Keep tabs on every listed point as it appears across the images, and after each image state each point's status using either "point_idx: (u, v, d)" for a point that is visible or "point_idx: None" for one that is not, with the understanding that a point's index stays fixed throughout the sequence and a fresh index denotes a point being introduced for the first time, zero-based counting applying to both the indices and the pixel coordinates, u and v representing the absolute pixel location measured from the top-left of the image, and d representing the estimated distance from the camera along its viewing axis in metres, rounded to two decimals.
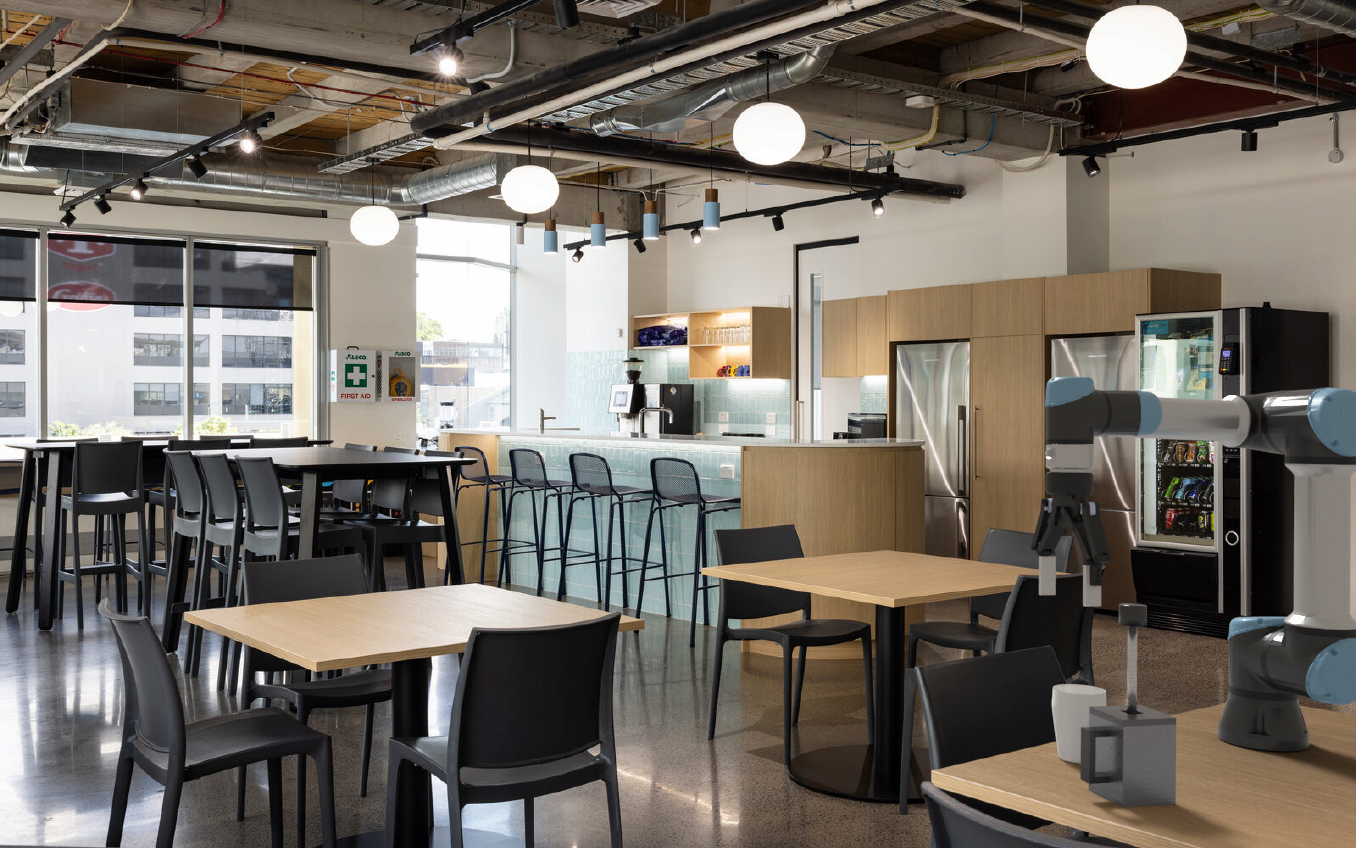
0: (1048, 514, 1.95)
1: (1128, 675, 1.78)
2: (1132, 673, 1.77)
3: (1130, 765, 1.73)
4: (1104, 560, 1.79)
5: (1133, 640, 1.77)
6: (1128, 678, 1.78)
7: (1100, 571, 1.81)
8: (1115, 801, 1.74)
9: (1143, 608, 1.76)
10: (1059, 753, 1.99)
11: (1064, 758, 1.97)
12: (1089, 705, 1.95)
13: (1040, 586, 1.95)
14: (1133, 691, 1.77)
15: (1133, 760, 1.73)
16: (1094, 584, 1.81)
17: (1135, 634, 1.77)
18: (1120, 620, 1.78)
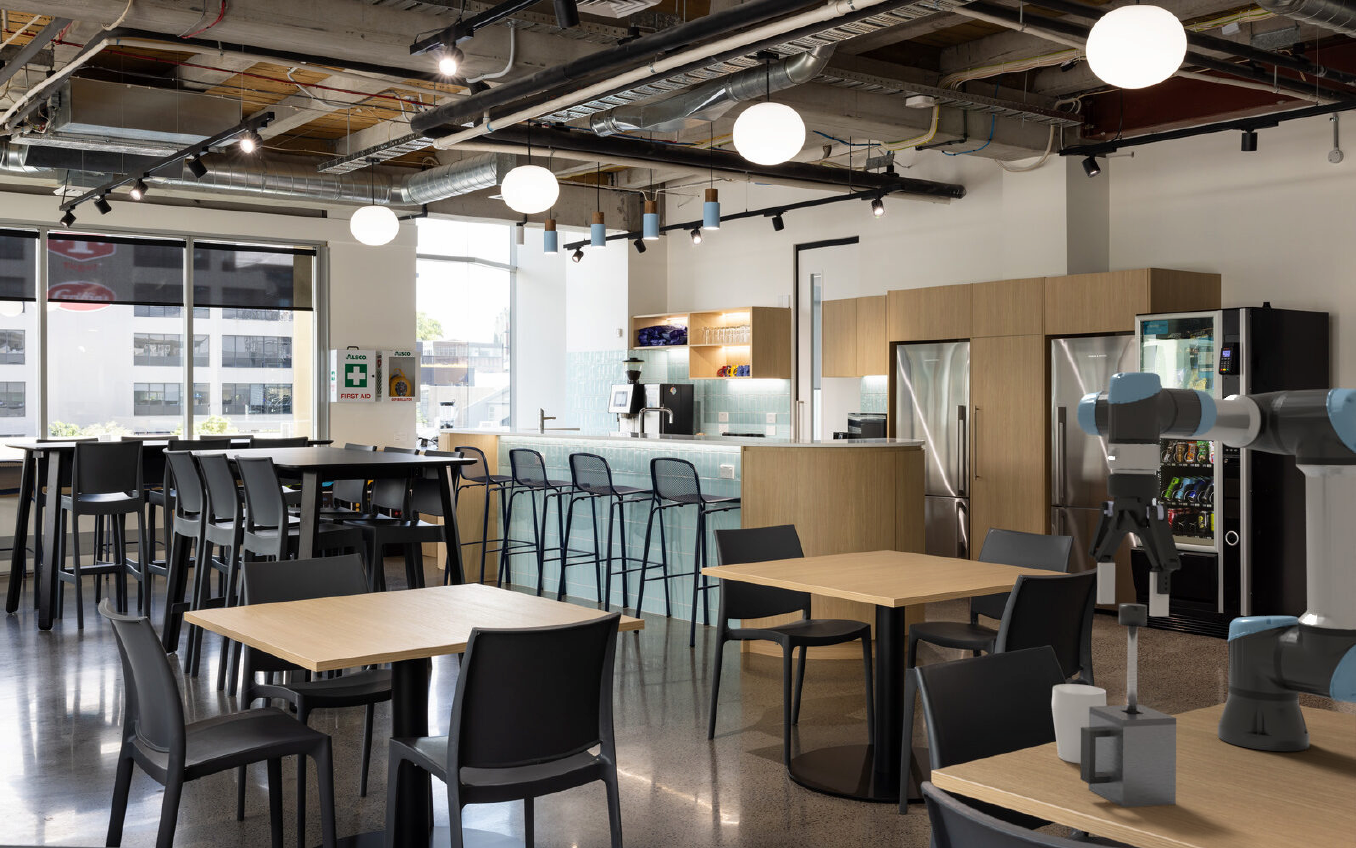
0: (1108, 518, 1.84)
1: (1128, 675, 1.78)
2: (1132, 673, 1.77)
3: (1130, 765, 1.73)
4: (1174, 567, 1.68)
5: (1133, 640, 1.77)
6: (1128, 678, 1.78)
7: (1168, 579, 1.70)
8: (1115, 801, 1.74)
9: (1143, 608, 1.76)
10: (1059, 753, 1.99)
11: (1064, 758, 1.97)
12: (1089, 705, 1.95)
13: (1098, 594, 1.84)
14: (1133, 691, 1.77)
15: (1133, 760, 1.73)
16: (1162, 592, 1.70)
17: (1135, 634, 1.77)
18: (1120, 620, 1.78)
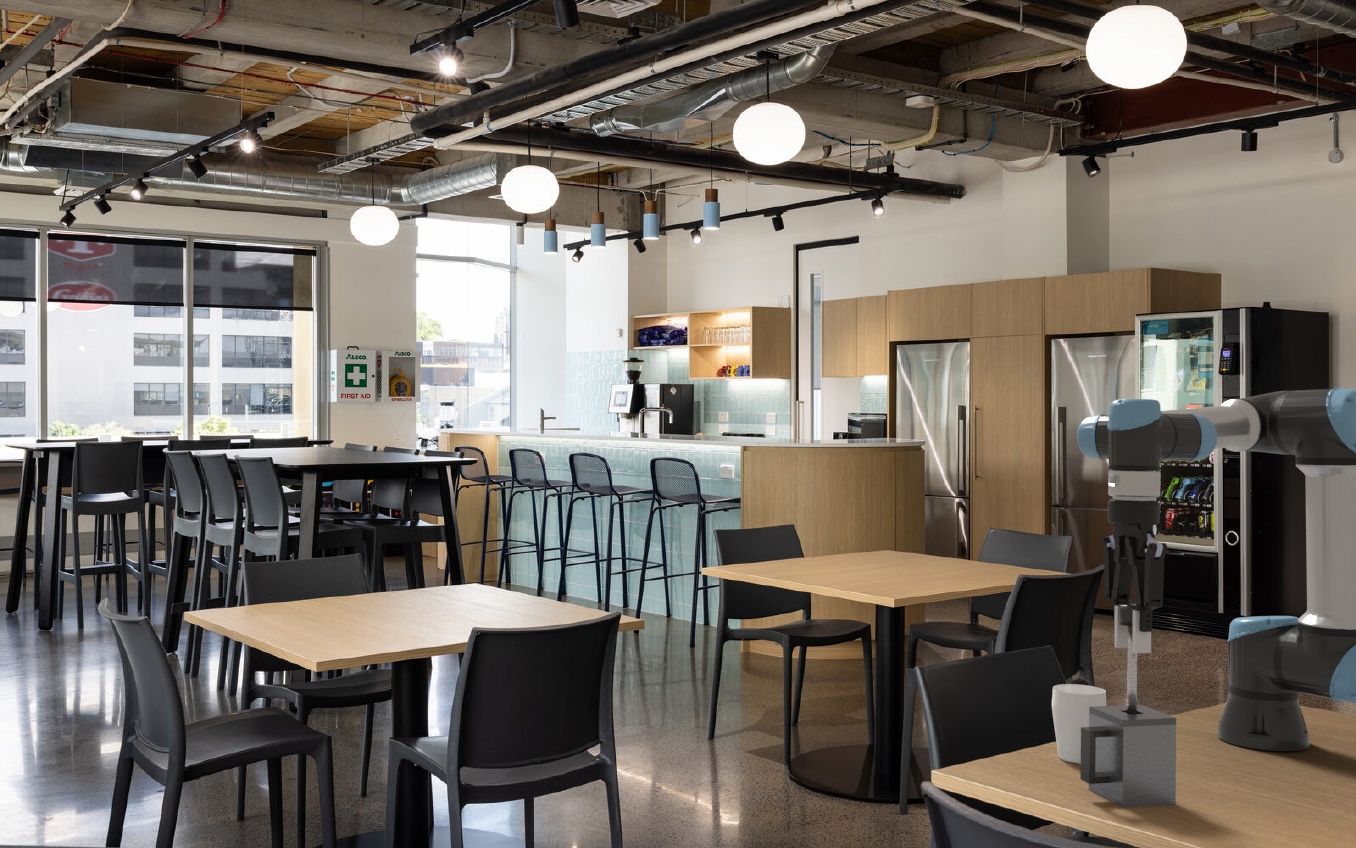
0: (1113, 552, 1.83)
1: (1128, 675, 1.78)
2: (1132, 673, 1.77)
3: (1130, 765, 1.73)
4: (1155, 606, 1.73)
5: None
6: (1128, 678, 1.78)
7: (1151, 617, 1.74)
8: (1115, 801, 1.74)
9: None
10: (1059, 753, 1.99)
11: (1064, 758, 1.97)
12: (1089, 705, 1.95)
13: (1116, 638, 1.80)
14: (1133, 691, 1.77)
15: (1133, 760, 1.73)
16: (1144, 630, 1.74)
17: None
18: (1120, 620, 1.78)
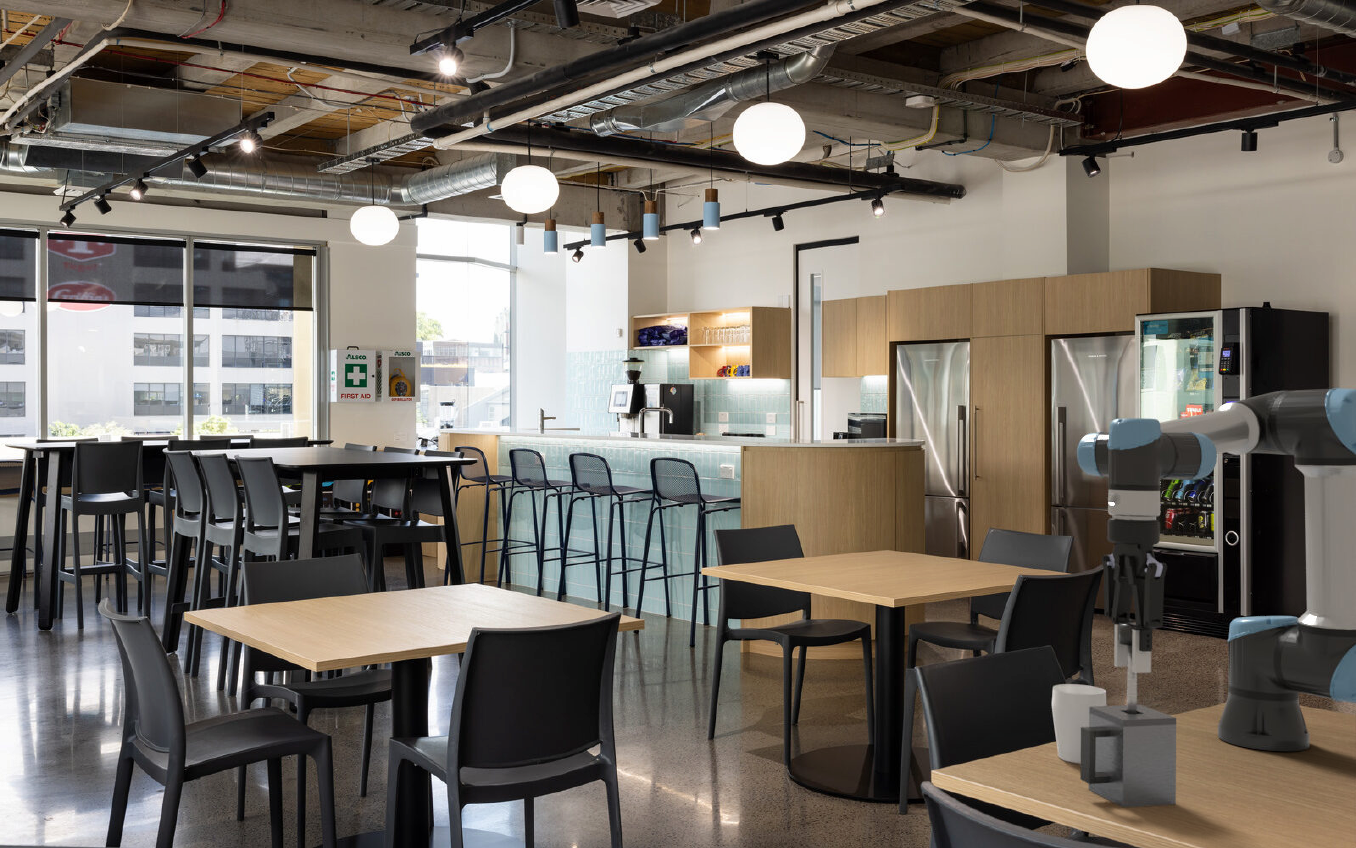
0: (1113, 570, 1.83)
1: (1128, 694, 1.78)
2: (1132, 692, 1.77)
3: (1130, 765, 1.73)
4: (1155, 625, 1.73)
5: None
6: (1128, 697, 1.78)
7: (1150, 636, 1.74)
8: (1115, 801, 1.74)
9: None
10: (1059, 753, 1.99)
11: (1064, 758, 1.97)
12: (1089, 705, 1.95)
13: (1116, 657, 1.80)
14: (1133, 710, 1.77)
15: (1133, 760, 1.73)
16: (1144, 650, 1.74)
17: None
18: (1120, 639, 1.78)
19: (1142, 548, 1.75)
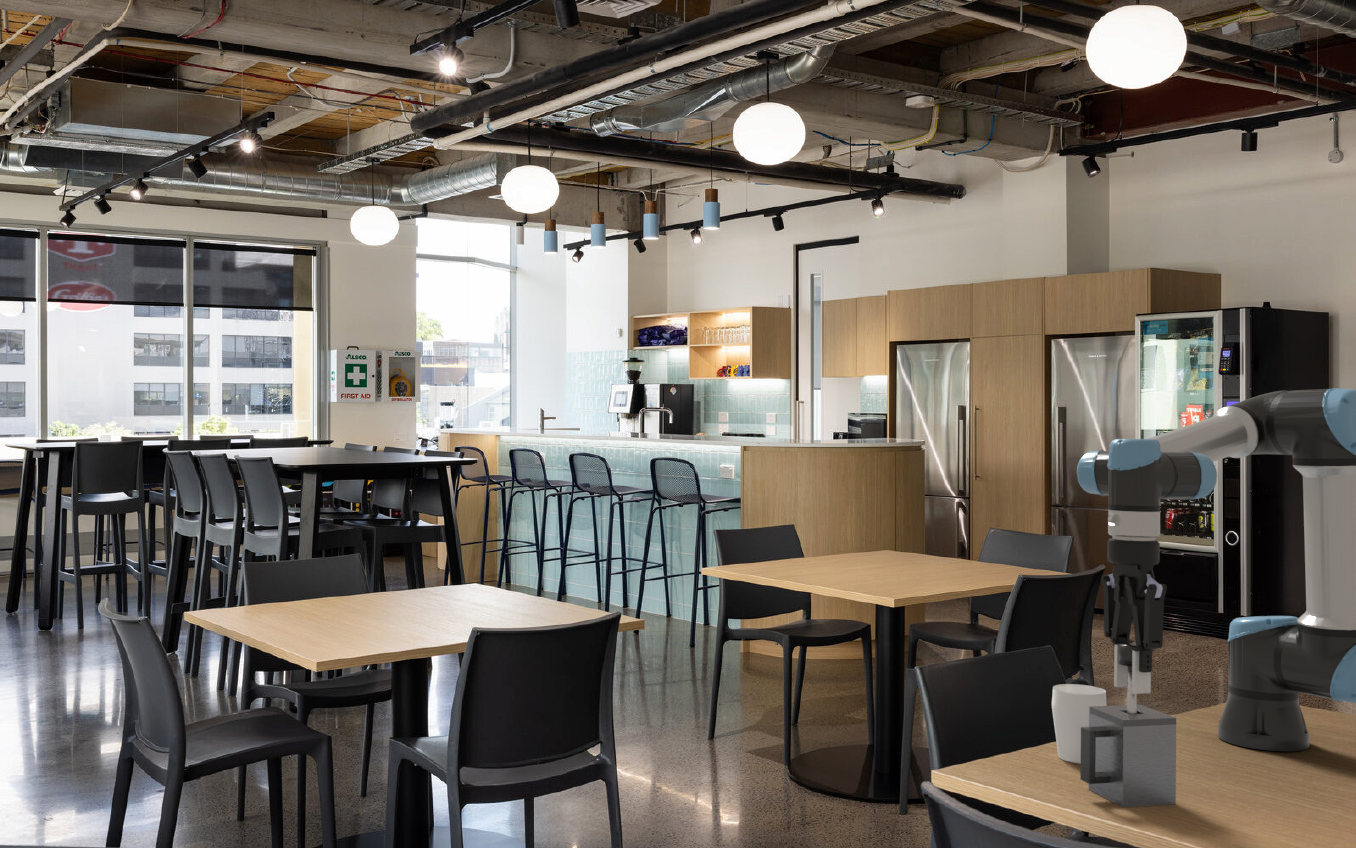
0: (1113, 590, 1.83)
1: None
2: (1131, 713, 1.77)
3: (1130, 765, 1.73)
4: (1155, 647, 1.73)
5: None
6: None
7: (1150, 657, 1.74)
8: (1115, 801, 1.74)
9: None
10: (1059, 753, 1.99)
11: (1064, 758, 1.97)
12: (1089, 705, 1.95)
13: (1116, 677, 1.80)
14: None
15: (1133, 760, 1.73)
16: (1144, 671, 1.74)
17: None
18: (1120, 660, 1.78)
19: (1142, 569, 1.75)
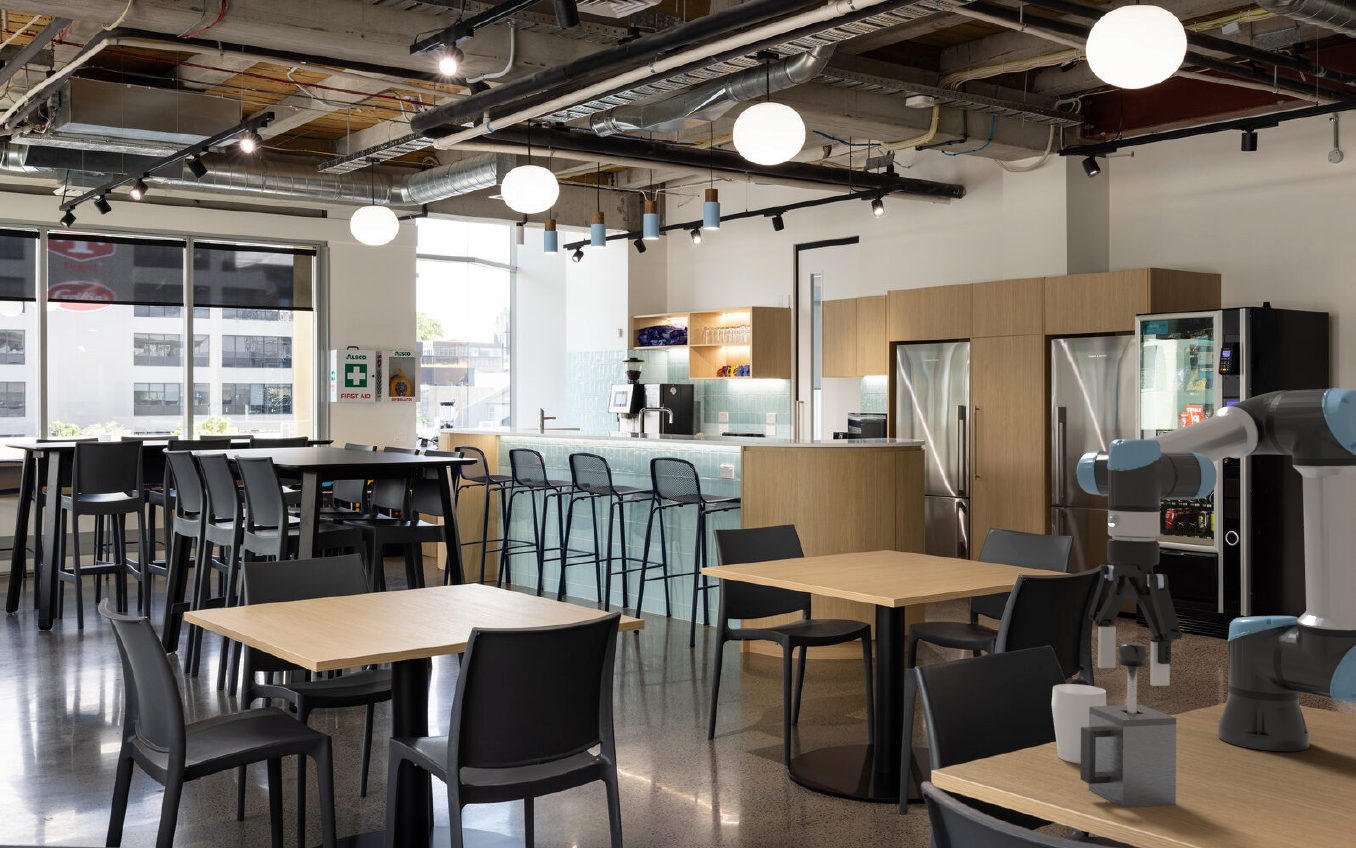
0: (1108, 582, 1.84)
1: None
2: (1131, 713, 1.77)
3: (1130, 765, 1.73)
4: (1174, 637, 1.68)
5: (1133, 680, 1.77)
6: None
7: (1169, 648, 1.70)
8: (1115, 801, 1.74)
9: (1143, 648, 1.76)
10: (1059, 753, 1.99)
11: (1064, 758, 1.97)
12: (1089, 705, 1.95)
13: (1099, 658, 1.84)
14: None
15: (1133, 760, 1.73)
16: (1163, 662, 1.70)
17: (1135, 674, 1.77)
18: (1120, 660, 1.78)
19: (1139, 568, 1.75)
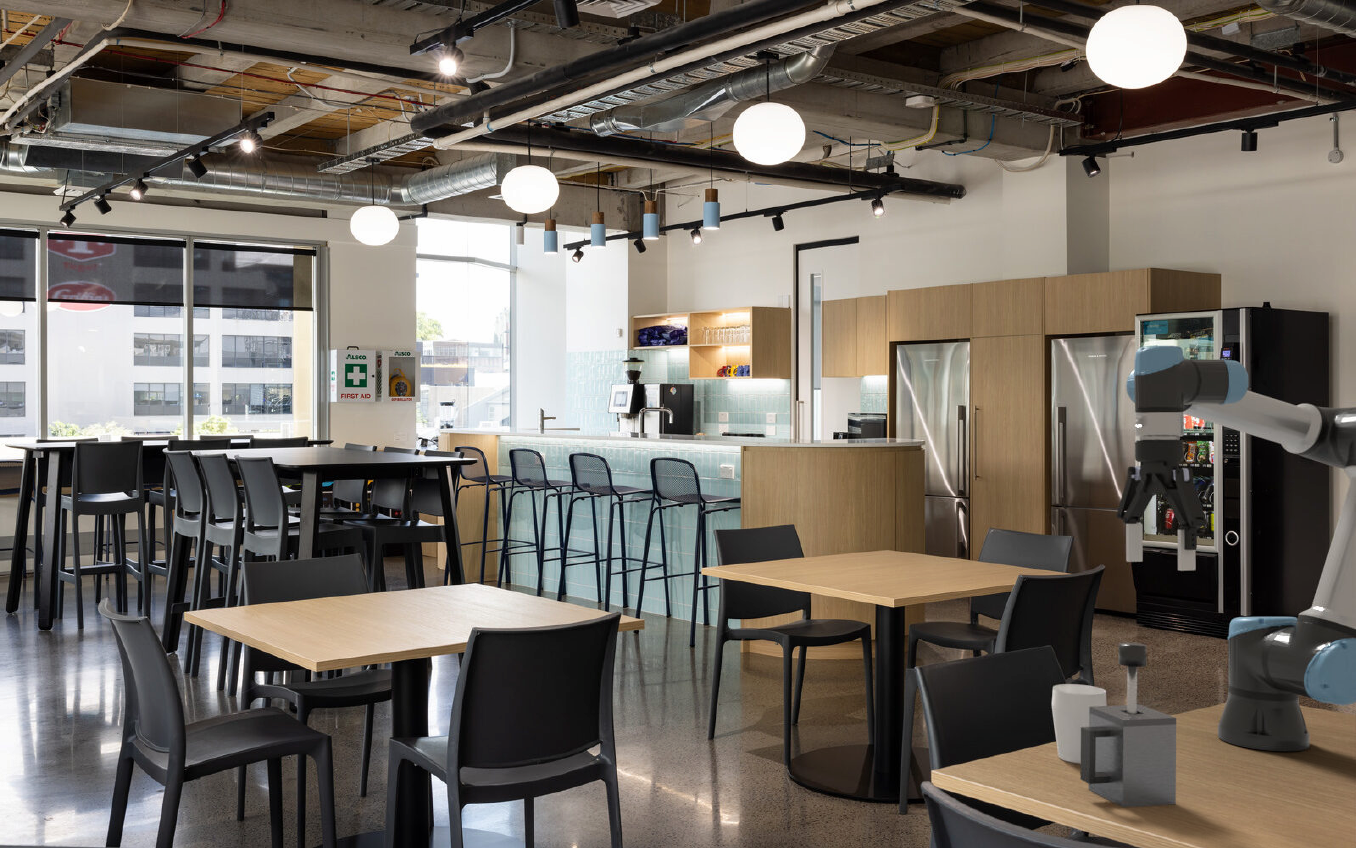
0: (1135, 482, 1.98)
1: None
2: (1131, 713, 1.77)
3: (1130, 765, 1.73)
4: (1200, 524, 1.83)
5: (1133, 680, 1.77)
6: None
7: (1195, 535, 1.84)
8: (1115, 801, 1.74)
9: (1143, 648, 1.76)
10: (1059, 753, 1.99)
11: (1064, 758, 1.97)
12: (1089, 705, 1.95)
13: (1128, 553, 1.98)
14: None
15: (1133, 760, 1.73)
16: (1189, 548, 1.84)
17: (1135, 674, 1.77)
18: (1120, 660, 1.78)
19: (1165, 464, 1.89)
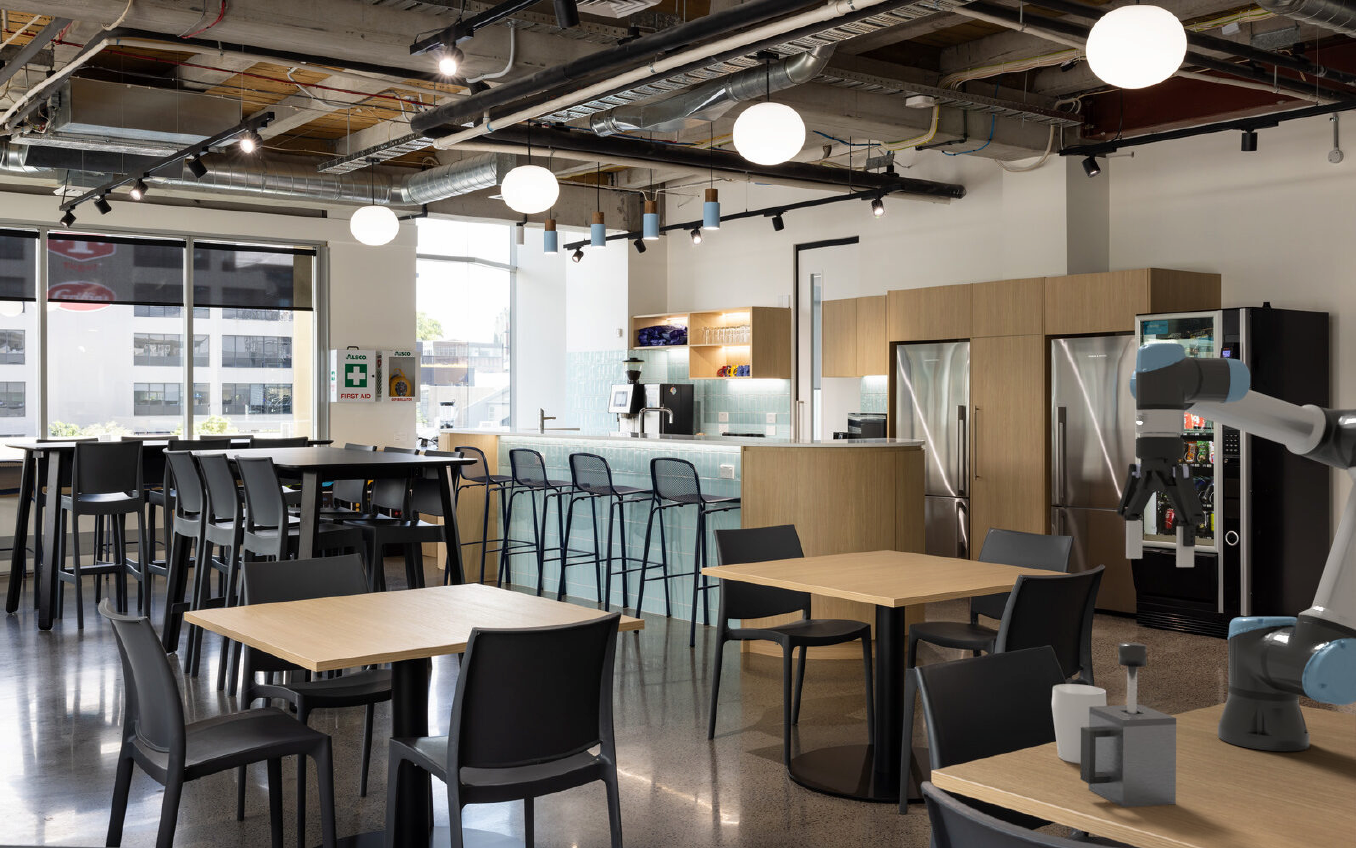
0: (1136, 479, 1.99)
1: None
2: (1131, 713, 1.77)
3: (1130, 765, 1.73)
4: (1199, 521, 1.83)
5: (1133, 680, 1.77)
6: None
7: (1194, 532, 1.85)
8: (1115, 801, 1.74)
9: (1143, 648, 1.76)
10: (1059, 753, 1.99)
11: (1064, 758, 1.97)
12: (1089, 705, 1.95)
13: (1127, 550, 1.99)
14: None
15: (1133, 760, 1.73)
16: (1188, 545, 1.85)
17: (1135, 674, 1.77)
18: (1120, 660, 1.78)
19: (1165, 461, 1.90)
